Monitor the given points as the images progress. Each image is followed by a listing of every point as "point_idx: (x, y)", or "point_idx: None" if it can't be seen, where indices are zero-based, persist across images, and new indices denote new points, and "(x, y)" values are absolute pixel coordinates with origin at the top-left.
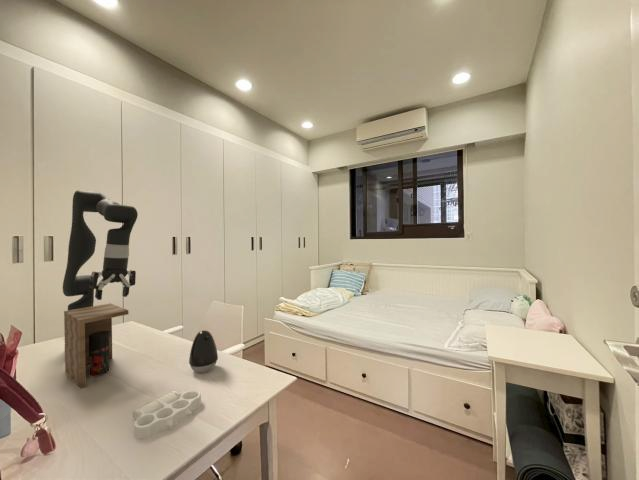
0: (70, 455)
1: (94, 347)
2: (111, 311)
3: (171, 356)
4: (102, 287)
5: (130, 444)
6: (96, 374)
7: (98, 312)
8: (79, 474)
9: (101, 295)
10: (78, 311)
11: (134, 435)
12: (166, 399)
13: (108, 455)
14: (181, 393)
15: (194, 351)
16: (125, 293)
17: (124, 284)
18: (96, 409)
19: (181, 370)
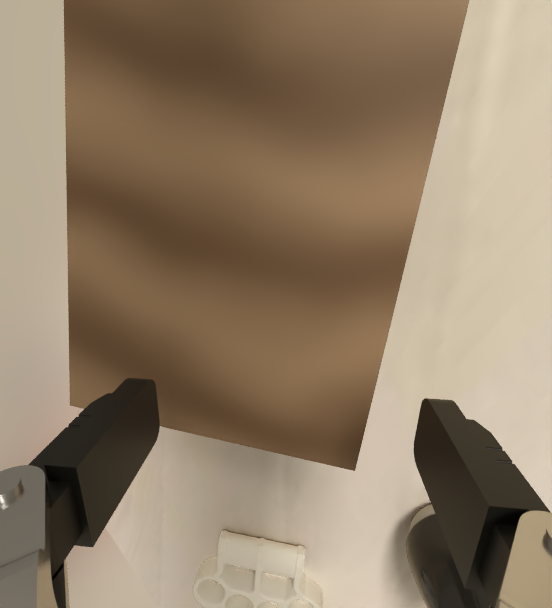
0: (130, 517)
1: None
2: (274, 382)
3: (483, 354)
4: (56, 601)
5: (188, 574)
6: None
7: (209, 319)
8: (127, 560)
9: (130, 476)
10: (134, 104)
11: (201, 564)
12: (272, 573)
13: (160, 565)
14: (298, 593)
15: (423, 593)
16: (428, 490)
17: (526, 580)
18: (199, 435)
19: (411, 467)
